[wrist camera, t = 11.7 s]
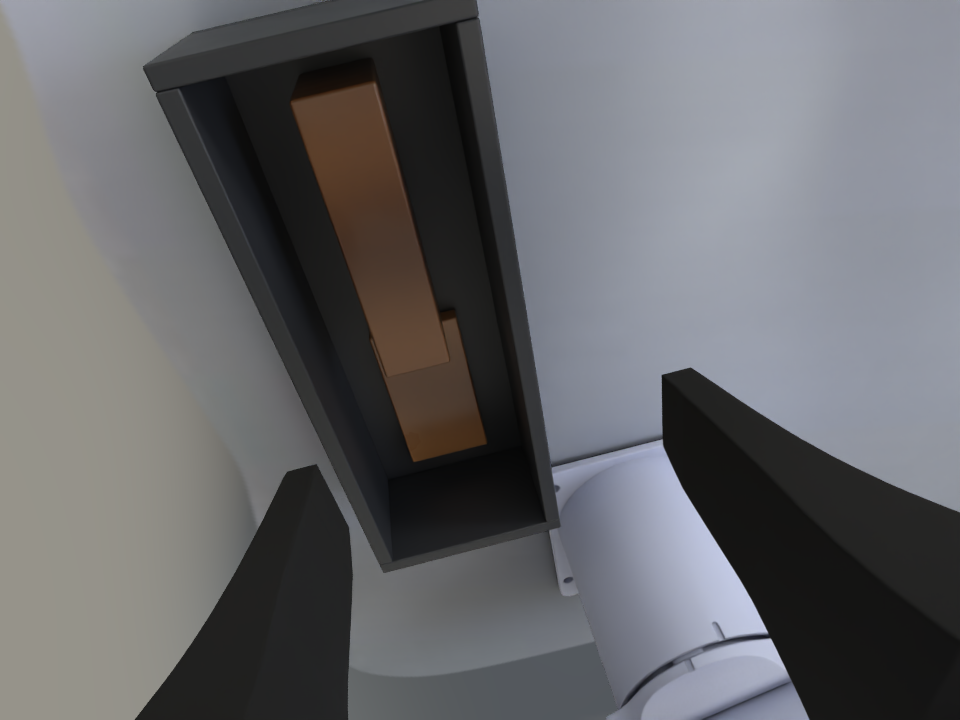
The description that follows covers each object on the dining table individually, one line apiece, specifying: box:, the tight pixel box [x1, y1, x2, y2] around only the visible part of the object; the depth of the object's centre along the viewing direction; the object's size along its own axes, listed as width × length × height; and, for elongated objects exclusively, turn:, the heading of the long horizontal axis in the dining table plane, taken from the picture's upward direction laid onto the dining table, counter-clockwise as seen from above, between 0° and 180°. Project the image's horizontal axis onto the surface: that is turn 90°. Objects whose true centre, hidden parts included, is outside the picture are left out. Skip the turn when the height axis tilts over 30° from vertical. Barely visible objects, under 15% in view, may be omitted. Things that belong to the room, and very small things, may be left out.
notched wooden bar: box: [289, 58, 487, 462], centre depth 19 cm, size 14×3×3 cm, turn 10°
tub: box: [143, 0, 561, 573], centre depth 19 cm, size 17×7×4 cm, turn 10°
